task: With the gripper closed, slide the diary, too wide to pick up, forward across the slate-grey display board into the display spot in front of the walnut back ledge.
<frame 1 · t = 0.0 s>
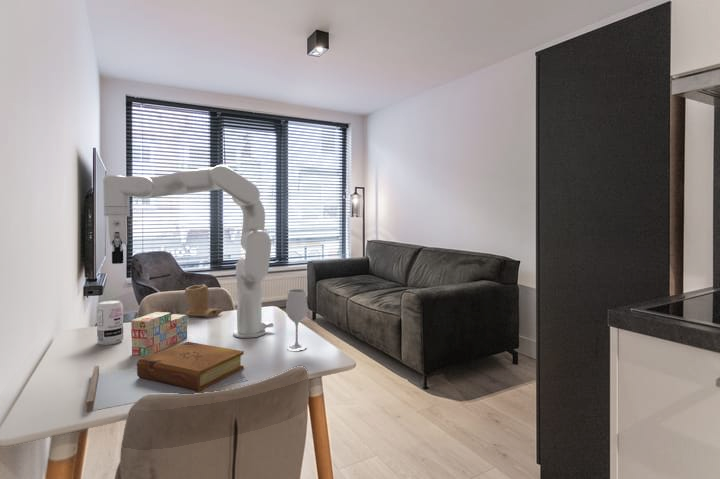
hand: (117, 262, 136), 31 cm above the table, tool pointing down, fingers open, 9 cm apart
display board: (170, 377, 116), on the table
stack of blocks: (161, 346, 144), on the table
wineglass: (296, 348, 143), on the table
stone cup: (201, 316, 189), on the table
supplement can: (110, 342, 148), on the table
diary: (192, 374, 119), on the table, touching display board
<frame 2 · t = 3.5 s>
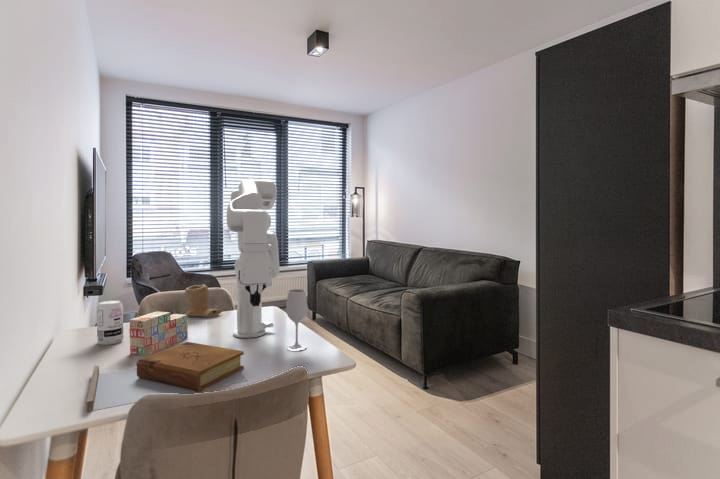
hand: (255, 305, 127), 19 cm above the table, tool pointing down, fingers closed
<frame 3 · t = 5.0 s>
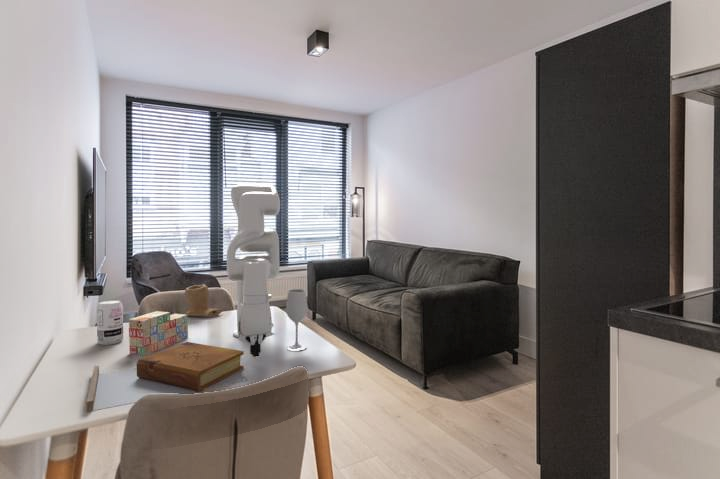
hand: (255, 355, 128), 2 cm above the table, tool pointing down, fingers closed
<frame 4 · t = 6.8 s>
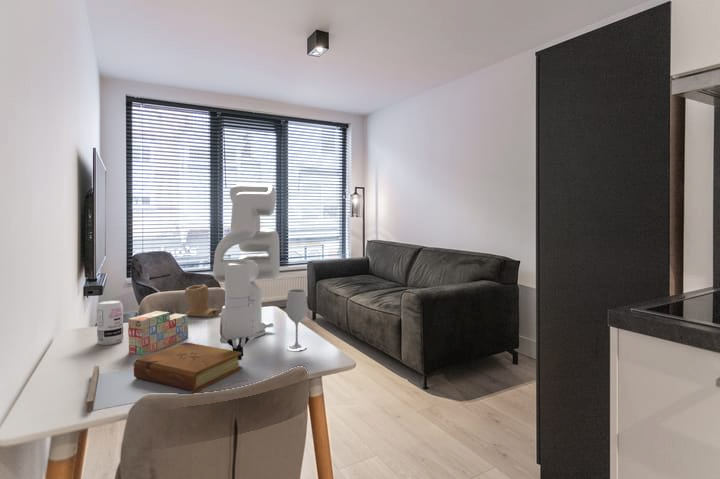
hand: (237, 359, 126), 2 cm above the table, tool pointing down, fingers closed
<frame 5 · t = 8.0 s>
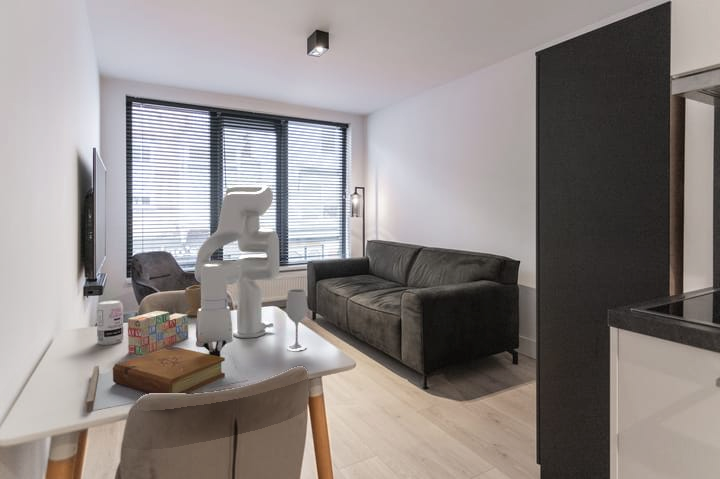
hand: (214, 362, 122), 2 cm above the table, tool pointing down, fingers closed
diary: (170, 380, 114), on the table, touching display board, gripper
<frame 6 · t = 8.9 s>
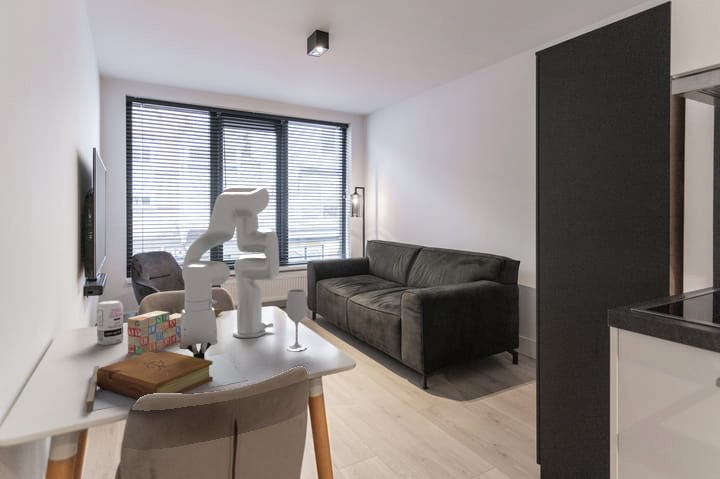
hand: (199, 365, 120), 2 cm above the table, tool pointing down, fingers closed
diary: (156, 385, 111), on the table, touching display board, gripper
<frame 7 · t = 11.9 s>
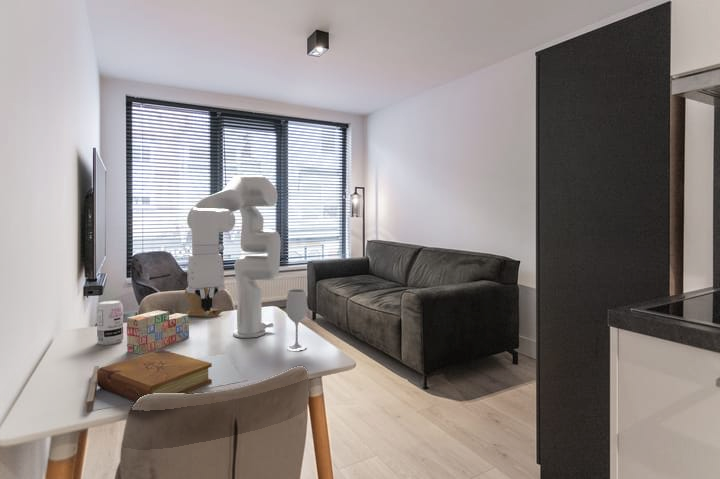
hand: (206, 310, 120), 19 cm above the table, tool pointing down, fingers closed
diary: (155, 386, 110), on the table, touching display board
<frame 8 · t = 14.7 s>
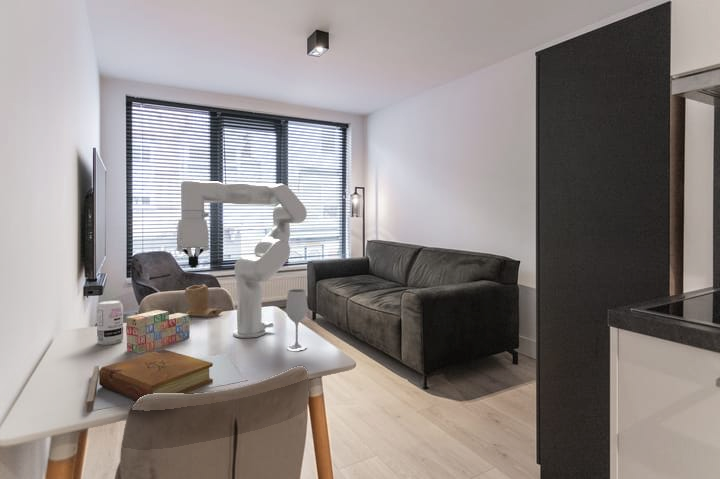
hand: (193, 267, 141), 29 cm above the table, tool pointing down, fingers closed
at the end: diary inside the target area on the display board (4.7 cm from its centre), point 0.0 cm above the display board's base; diary moved 10.4 cm from its start; diary tilted 0° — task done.
